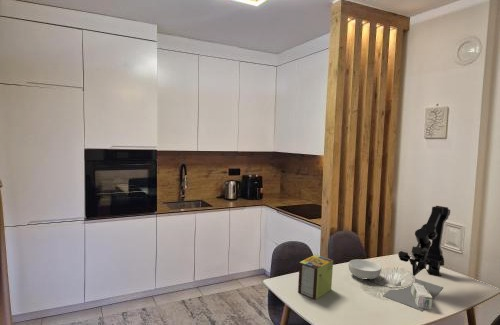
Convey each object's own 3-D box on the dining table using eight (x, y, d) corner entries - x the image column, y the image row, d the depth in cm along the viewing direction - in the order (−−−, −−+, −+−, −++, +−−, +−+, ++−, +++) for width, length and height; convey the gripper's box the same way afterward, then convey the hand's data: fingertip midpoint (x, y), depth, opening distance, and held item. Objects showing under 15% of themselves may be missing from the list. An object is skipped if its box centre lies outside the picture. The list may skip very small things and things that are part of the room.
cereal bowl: (380, 274, 183) (381, 262, 183) (379, 286, 168) (380, 273, 168) (350, 268, 191) (350, 256, 190) (345, 279, 175) (346, 266, 175)
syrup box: (422, 294, 161) (432, 309, 147) (410, 292, 162) (417, 307, 148) (424, 283, 160) (433, 297, 146) (411, 281, 162) (419, 295, 148)
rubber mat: (407, 276, 182) (407, 275, 182) (442, 287, 170) (443, 287, 170) (382, 296, 158) (382, 295, 158) (422, 311, 146) (422, 310, 146)
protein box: (331, 289, 163) (333, 259, 162) (315, 300, 152) (317, 268, 150) (313, 282, 170) (315, 254, 169) (297, 292, 159) (298, 261, 157)
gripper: (400, 235, 170) (391, 261, 163) (440, 245, 157) (432, 273, 150) (404, 247, 176) (395, 272, 169) (443, 257, 163) (435, 284, 156)
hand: (413, 275), depth 161 cm, fingers closed
